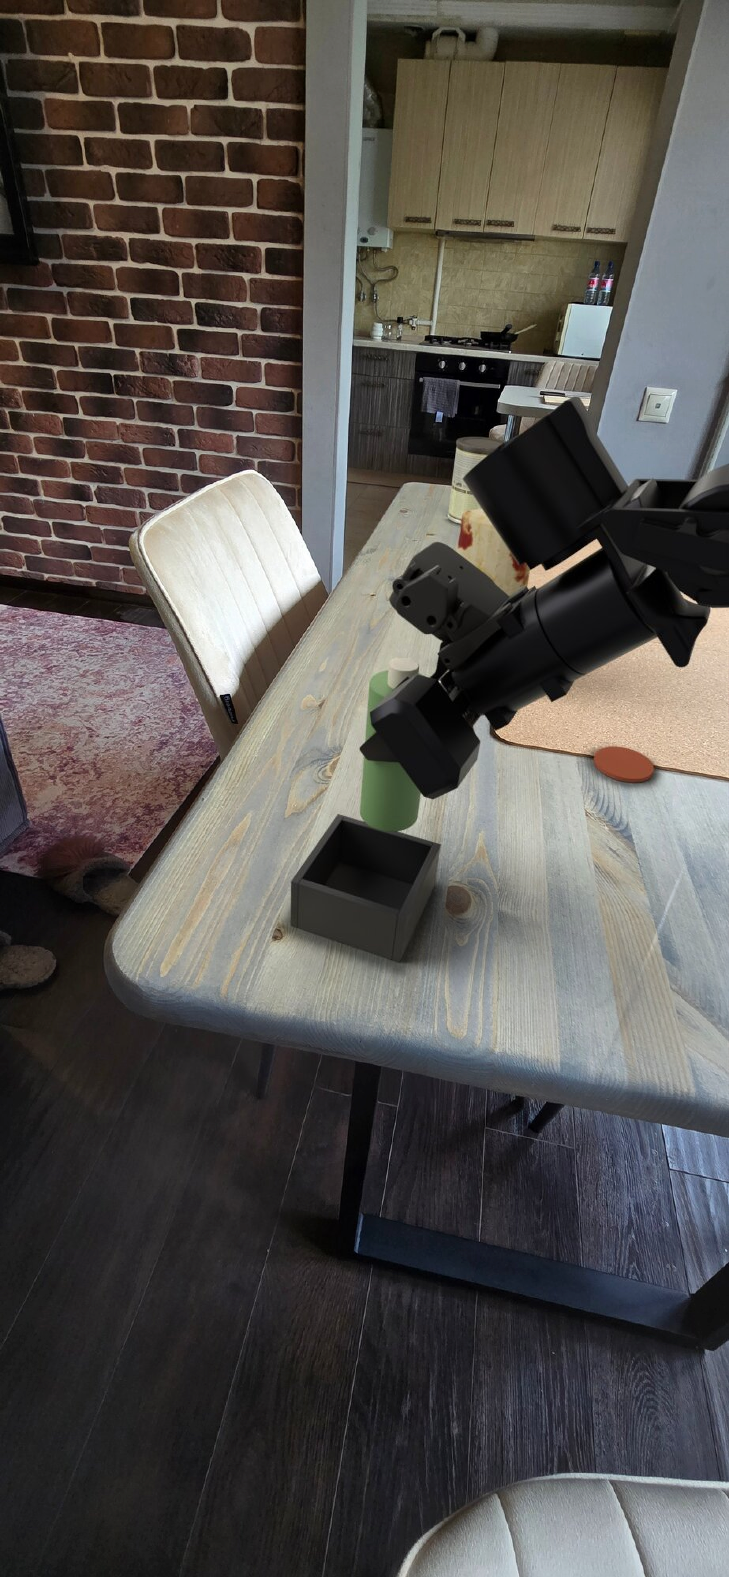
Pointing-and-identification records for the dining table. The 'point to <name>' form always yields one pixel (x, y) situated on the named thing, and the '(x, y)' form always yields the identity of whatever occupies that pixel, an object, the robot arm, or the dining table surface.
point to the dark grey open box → (364, 887)
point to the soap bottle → (388, 764)
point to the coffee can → (465, 460)
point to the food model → (490, 552)
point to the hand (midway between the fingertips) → (378, 737)
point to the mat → (623, 764)
